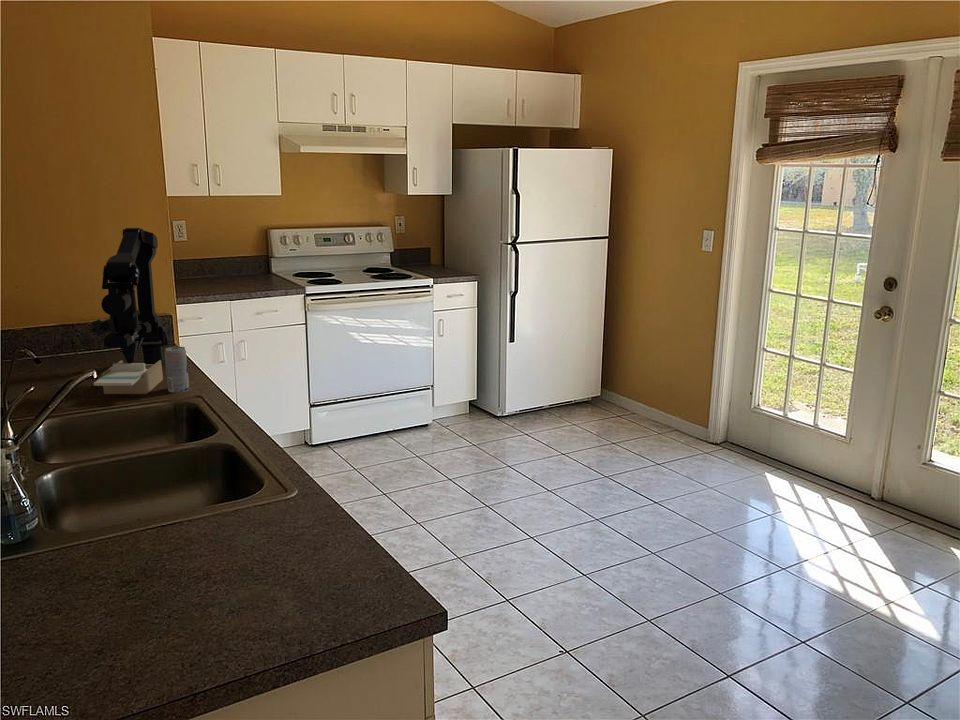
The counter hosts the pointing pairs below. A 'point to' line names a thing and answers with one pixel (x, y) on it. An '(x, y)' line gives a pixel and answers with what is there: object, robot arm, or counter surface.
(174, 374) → the energy drink
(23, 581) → the counter surface
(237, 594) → the counter surface
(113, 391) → the mailer box
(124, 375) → the lid
